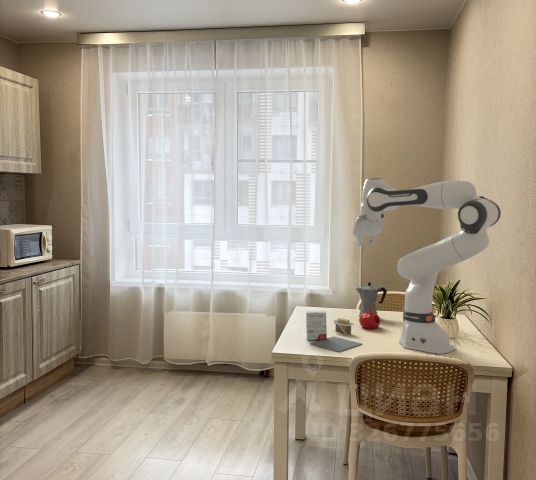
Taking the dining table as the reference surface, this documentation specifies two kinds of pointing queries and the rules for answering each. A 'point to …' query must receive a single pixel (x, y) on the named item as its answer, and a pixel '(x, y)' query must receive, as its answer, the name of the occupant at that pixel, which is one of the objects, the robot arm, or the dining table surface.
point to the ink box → (316, 325)
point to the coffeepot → (370, 297)
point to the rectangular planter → (343, 325)
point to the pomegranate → (369, 320)
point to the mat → (336, 344)
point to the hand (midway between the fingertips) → (365, 244)
